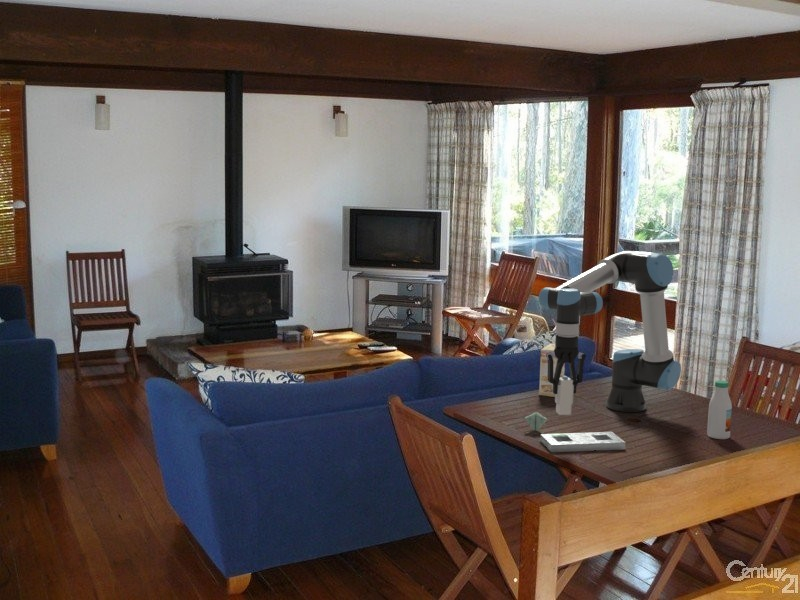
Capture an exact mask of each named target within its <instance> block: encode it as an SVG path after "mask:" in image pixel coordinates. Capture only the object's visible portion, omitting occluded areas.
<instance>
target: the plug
mask: <svg viewBox="0 0 800 600" xmlns="http://www.w3.org/2000/svg"><path fill="white" fill-rule="evenodd" d="M558 384H559V385H560V404H557V403H556V404H555V413H557V414H558V415H559V416H564V415H565V416H572V406H573V404H572V385H573V380H572V379H571V377H568V376H567V375H564V376H562V377H560V379H559V383H558Z"/></svg>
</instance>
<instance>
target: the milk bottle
mask: <svg viewBox="0 0 800 600" xmlns="http://www.w3.org/2000/svg"><path fill="white" fill-rule="evenodd" d="M729 386H730V383H729V382H728V381H726V380H715V382H714V388H715V390H714V392H713V394H712V396H711V398H710V400H709V404H708V415H707V416H708V417H707V426H706V427H707V428H706V429H707V430H706V435H707V436H708V437H709V438H711V439H716V440H727V439H730V437H731V425H732V409H733V407H732V406H733V404H732V400H731V397H730V395H729Z"/></svg>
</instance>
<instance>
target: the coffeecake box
mask: <svg viewBox="0 0 800 600" xmlns="http://www.w3.org/2000/svg"><path fill="white" fill-rule="evenodd" d="M554 349H555V343H551V342H550V343H549V344H547V345H545V346H544V347H543V348H541V349H540V363H539V364H540V365H539V388H538V390H539V391H538V396H545V397H552V398H555V394H554V393H553V384H552V383H550V382H549V381H548V359H547V357H546V354H547V353H549V354H550V353H552V352H554ZM557 360H558V359H557V357H556V356H554V359H553V378H554V374H555V370H556V366H557ZM565 366H566V364H565V363H564V365H563V367H562V371H561V375H560V377H562V376H565V370H566V369H565Z"/></svg>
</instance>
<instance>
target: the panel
mask: <svg viewBox="0 0 800 600" xmlns="http://www.w3.org/2000/svg"><path fill="white" fill-rule="evenodd" d="M539 436H540V438H539V439H540V440H539V442H540V443H541V444H543V446H544V447H545V446H546V447H547V448H546V447H545V448H546V449H548V451H549V452H550V453H563V452H564V453H565V452H588V451H590V452H591V451H594V450H596V451H615V450H616V451H617V450H619V451H621V450H626V441H624V440H623V439H622V438H621V437H620V436H618V435H617V434H616V433H614V432H613V431H594V432H588V431H587V432H566V433H563V432H562V433H541V434H540V435H539Z"/></svg>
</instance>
